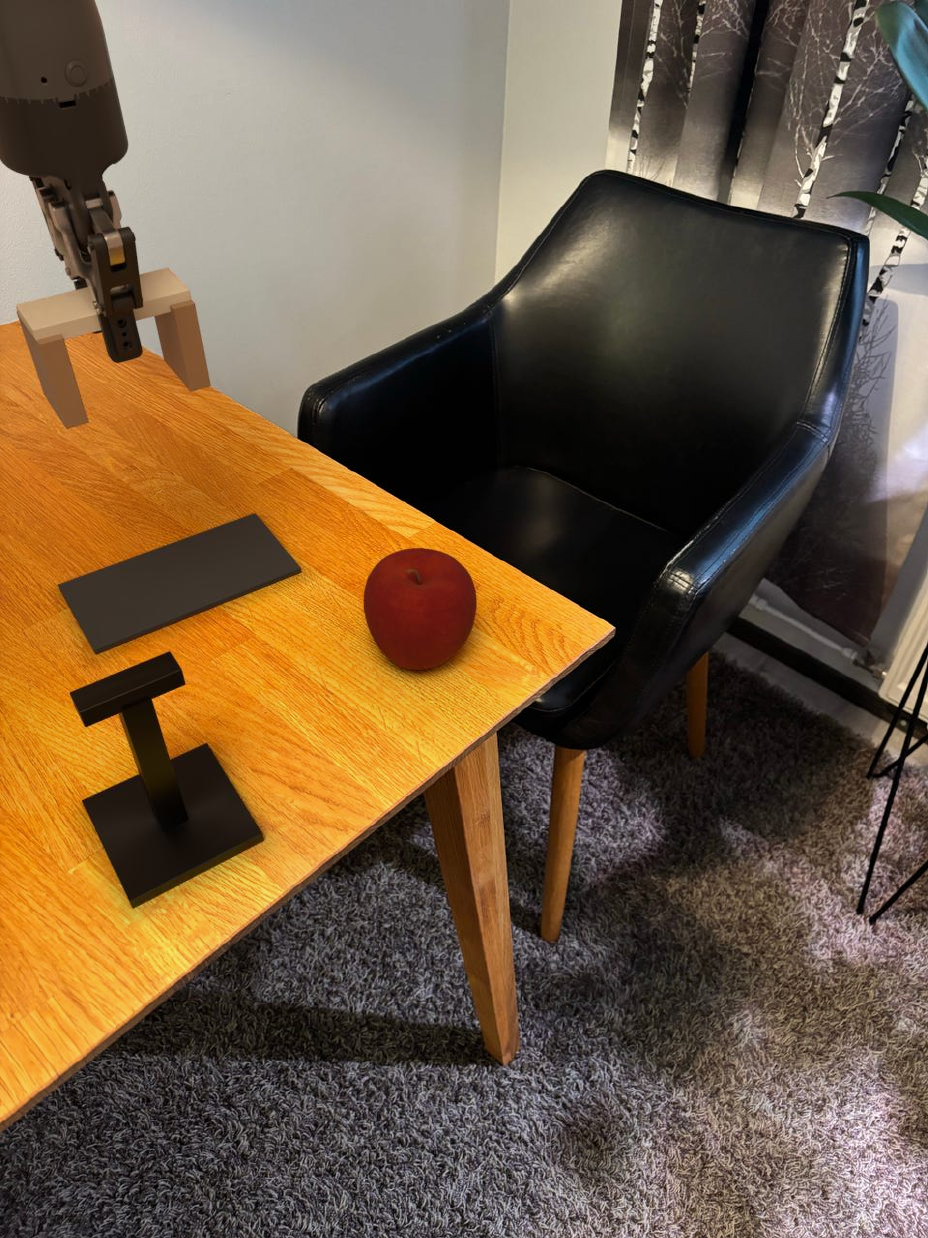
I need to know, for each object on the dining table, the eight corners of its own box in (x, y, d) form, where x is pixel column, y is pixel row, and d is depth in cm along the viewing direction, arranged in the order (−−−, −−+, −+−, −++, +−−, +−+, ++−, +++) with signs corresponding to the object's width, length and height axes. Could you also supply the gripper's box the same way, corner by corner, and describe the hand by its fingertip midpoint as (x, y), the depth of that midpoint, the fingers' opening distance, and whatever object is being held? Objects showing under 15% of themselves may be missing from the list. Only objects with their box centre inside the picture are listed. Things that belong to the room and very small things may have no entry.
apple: (426, 599, 90) (426, 514, 83) (497, 655, 85) (503, 570, 78) (345, 647, 85) (337, 561, 78) (415, 709, 81) (414, 624, 74)
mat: (95, 654, 84) (93, 650, 84) (59, 589, 90) (57, 584, 89) (301, 572, 92) (301, 567, 92) (256, 517, 98) (255, 512, 98)
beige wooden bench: (66, 429, 66) (35, 334, 61) (43, 394, 70) (12, 300, 64) (211, 386, 71) (193, 293, 66) (184, 354, 74) (165, 263, 69)
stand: (132, 909, 67) (72, 769, 56) (84, 807, 73) (21, 663, 62) (264, 840, 71) (233, 698, 60) (209, 750, 77) (171, 604, 66)
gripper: (-55, 48, 58) (31, 314, 70) (11, 119, 50) (95, 407, 62) (70, 31, 61) (132, 289, 73) (152, 95, 53) (206, 374, 65)
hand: (115, 342), depth 67 cm, fingers closed on beige wooden bench, 4 cm apart
